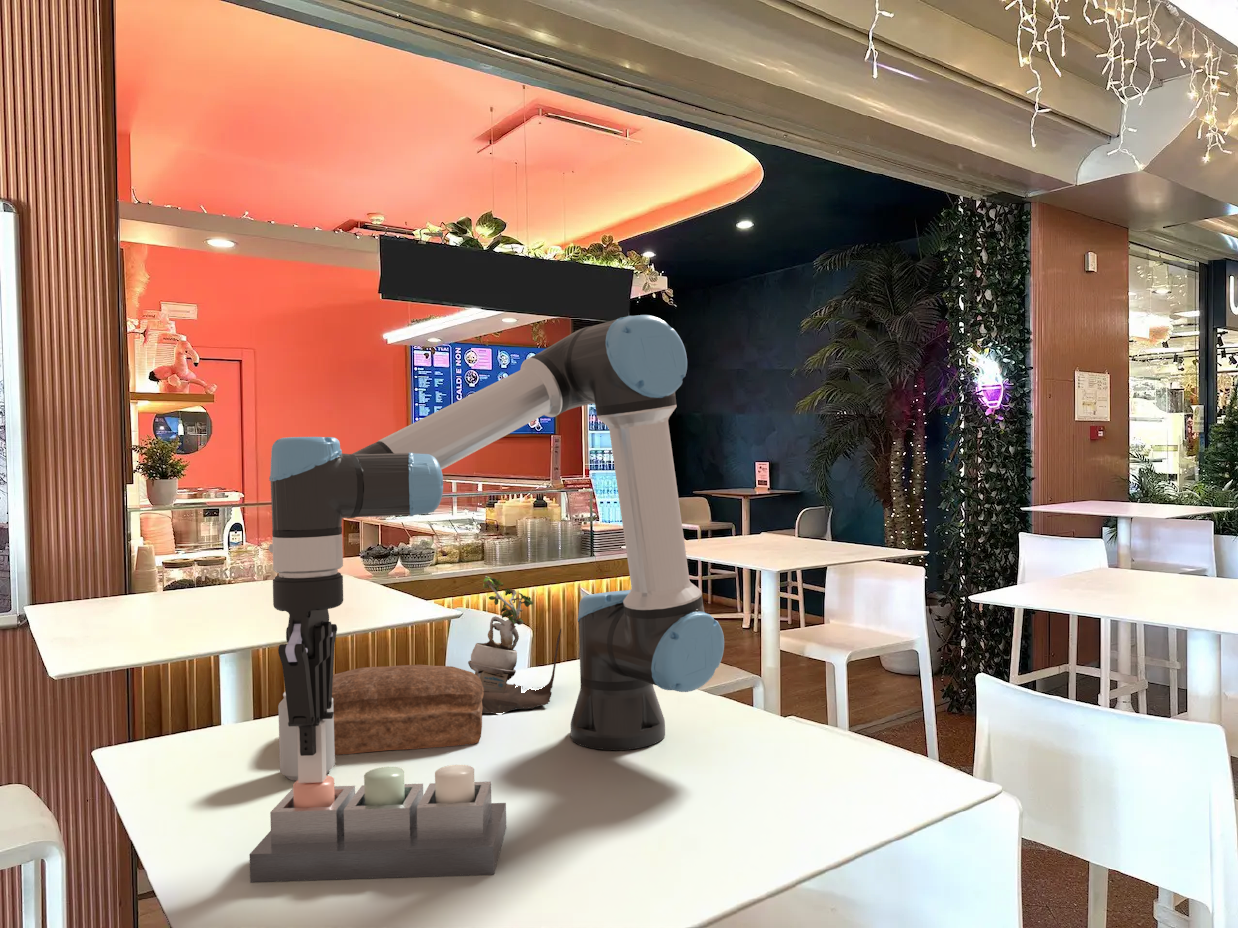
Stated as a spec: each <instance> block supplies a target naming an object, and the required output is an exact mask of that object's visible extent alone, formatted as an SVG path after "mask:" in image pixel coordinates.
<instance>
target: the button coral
mask: <svg viewBox="0 0 1238 928" xmlns="http://www.w3.org/2000/svg"><path fill="white" fill-rule="evenodd" d="M326 777H327V778H326V779H325V780H324V781H323V782H315V783H298V780H297V781H296V780H295V782H293V784H292V786H293V787H292V789H293V796H294V808H307V807H330V806H331V805H332V804H333V802H334V801H335V794H334V786H335V778H334V777H333V776H331V775H327V774H326Z"/></svg>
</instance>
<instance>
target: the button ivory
mask: <svg viewBox="0 0 1238 928" xmlns="http://www.w3.org/2000/svg"><path fill="white" fill-rule="evenodd" d="M434 780H435V781H434V783H435V794H436V804H439V803H471V802H475V783H474V782H475V768H474V767H473V766H471V765H469V764H467V765H466V764H451V765H446V766H443V767H440V768H438V769H437V770H436V771H435V772H434Z"/></svg>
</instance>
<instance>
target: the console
mask: <svg viewBox="0 0 1238 928" xmlns="http://www.w3.org/2000/svg"><path fill="white" fill-rule="evenodd" d="M474 783H475V802H471V803H439V804H436V794H435V782H434V783H431V782H430V783H429V784H428V786H427V788H426V790H425V792H424V783H404V787H405V801H404V803H403V804H402V805H373V806H365V790H364V784H363V785H361V786H360V787H359V788H358V790H357V791H356V785H337V786H336V785H334V794H335V801H334V802H333V804H332V805H331V806H330V807H307V808H294V796H293V788H292V789H291V790H290V791H289V792H288V793H287V794H286V795H285V796H284V797H283V798H282V800H280V801H279V803H277V804H276V806H274V808H272V810H271V811H270V813H269V815H270V816H269V817H270V831H269V832H268V833H267V834H266V835H265V837H263V838H262V840H261V841H260V842H259V843H258V844H257V845H256V847H254V848H253V850H251V852H250V853H249V855H248V856H249V882H250V883H264V882H265V883H267V882H271V883H272V882H297V881H299V882H300V881H302V882H303V881H326V880H327V881H328V880H329V881H333V880H359V879H360V880H362V879H363V880H364V879H395V878H396V879H397V878H399V879H400V878H426V877H427V878H428V877H455V876H457V877H458V876H463V877H464V876H487V875H488V876H489V875H495V872H496V868H497V863H498V861H499V858H500V853H501V849H502V846H503V841H504V838H505V834H506V831H507V803H506V802H493V803H492V781H474Z"/></svg>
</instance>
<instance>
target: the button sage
mask: <svg viewBox="0 0 1238 928" xmlns="http://www.w3.org/2000/svg"><path fill="white" fill-rule="evenodd" d="M363 779H364V780H363V783H364V784H363V785H364V790H365V806H373V805H402V804H403V803H404V801H405V787H404V784H405V770H404V769H403V768H402V767H398V766H383V767H377V768H374V769H371V770H368V771H367V772H365V773H364V775H363Z"/></svg>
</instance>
